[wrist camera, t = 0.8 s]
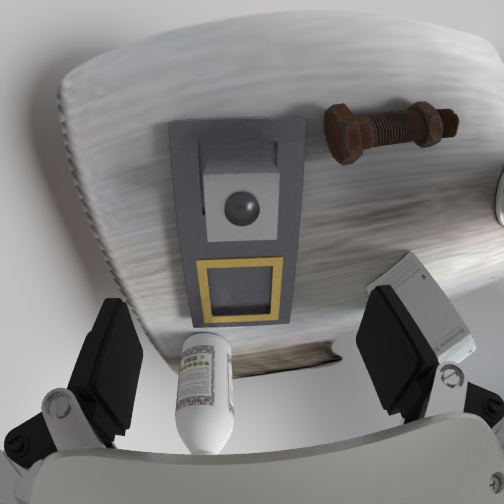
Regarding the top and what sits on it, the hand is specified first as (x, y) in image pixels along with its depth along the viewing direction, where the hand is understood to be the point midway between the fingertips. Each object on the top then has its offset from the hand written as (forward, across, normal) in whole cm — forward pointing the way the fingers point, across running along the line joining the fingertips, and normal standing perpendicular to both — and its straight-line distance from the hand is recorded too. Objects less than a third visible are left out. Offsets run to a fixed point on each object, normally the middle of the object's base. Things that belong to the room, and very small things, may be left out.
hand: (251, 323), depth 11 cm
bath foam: (+20, +5, +24) cm, 32 cm away
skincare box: (+20, -21, +14) cm, 33 cm away
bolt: (+20, -16, -6) cm, 26 cm away
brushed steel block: (+19, 0, 0) cm, 19 cm away
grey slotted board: (+20, 0, +6) cm, 21 cm away
